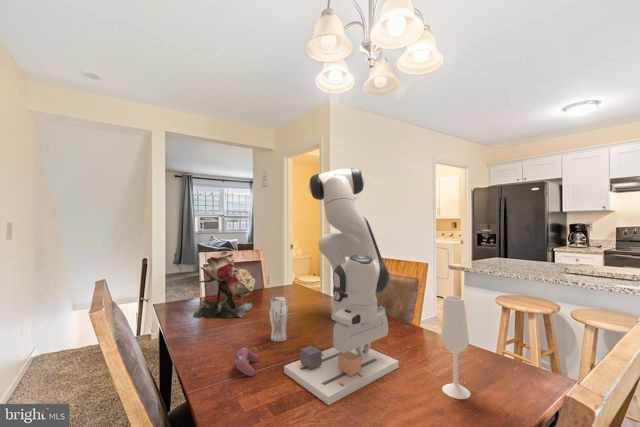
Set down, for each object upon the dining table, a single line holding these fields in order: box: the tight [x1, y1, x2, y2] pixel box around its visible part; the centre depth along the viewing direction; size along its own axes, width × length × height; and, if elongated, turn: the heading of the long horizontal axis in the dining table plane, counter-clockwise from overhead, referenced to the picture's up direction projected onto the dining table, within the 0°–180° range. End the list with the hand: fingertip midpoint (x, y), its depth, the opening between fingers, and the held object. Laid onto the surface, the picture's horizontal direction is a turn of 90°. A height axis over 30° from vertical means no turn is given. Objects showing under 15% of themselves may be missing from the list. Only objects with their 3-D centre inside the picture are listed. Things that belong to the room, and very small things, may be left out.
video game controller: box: [234, 346, 260, 377], centre depth 88 cm, size 10×5×7 cm, turn 5°
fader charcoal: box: [300, 345, 322, 369], centre depth 86 cm, size 4×5×4 cm
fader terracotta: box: [338, 351, 361, 376], centre depth 82 cm, size 4×5×4 cm
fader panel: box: [283, 346, 400, 406], centre depth 87 cm, size 28×20×2 cm
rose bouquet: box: [192, 250, 256, 320], centre depth 149 cm, size 26×29×30 cm
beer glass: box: [268, 296, 289, 343], centre depth 112 cm, size 7×7×15 cm
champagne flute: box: [440, 295, 471, 400], centre depth 76 cm, size 7×7×24 cm
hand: (362, 358), depth 86 cm, fingers closed
